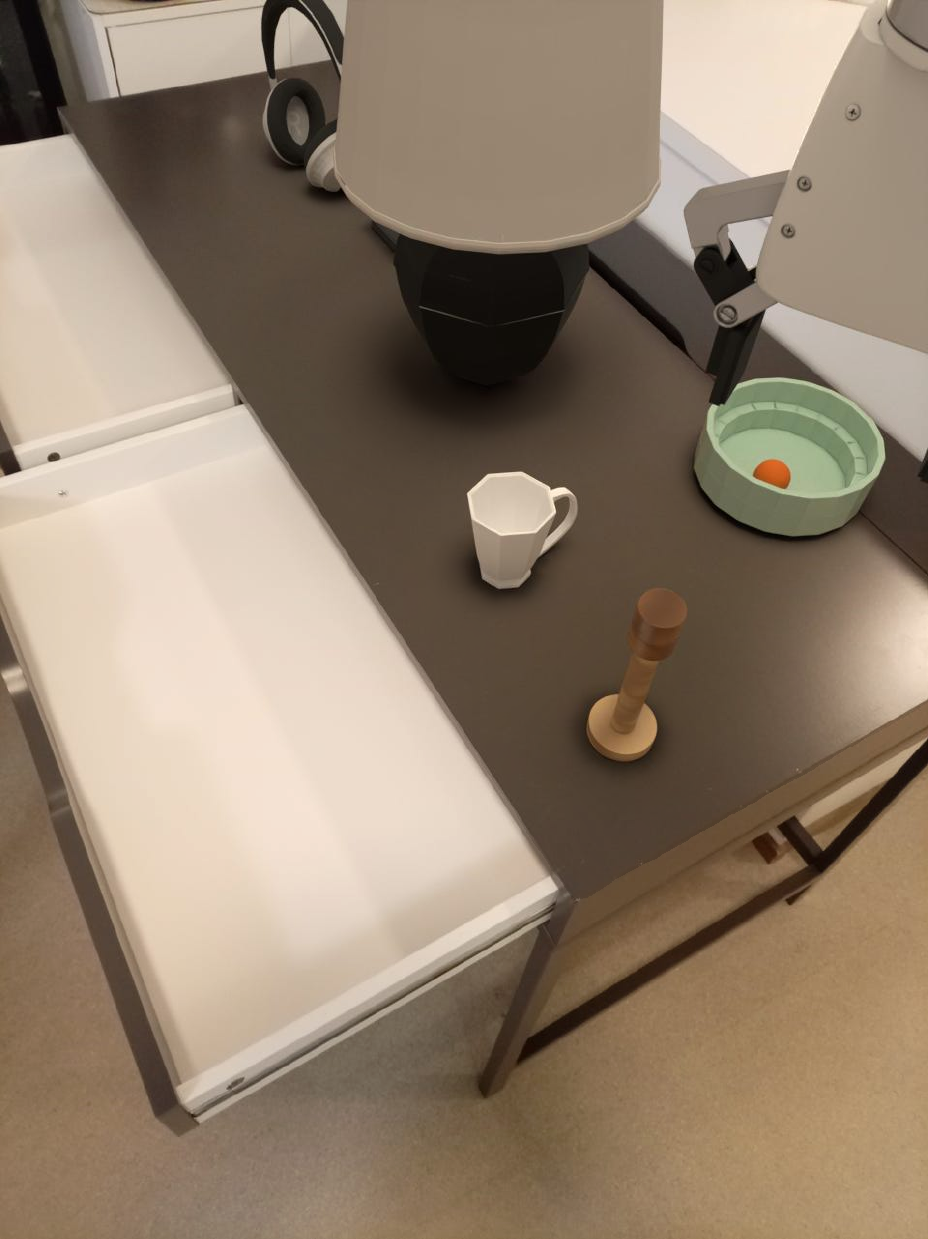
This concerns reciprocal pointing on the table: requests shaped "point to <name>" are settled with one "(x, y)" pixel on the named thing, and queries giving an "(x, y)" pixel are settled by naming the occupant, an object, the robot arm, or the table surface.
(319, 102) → the headphones
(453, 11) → the table lamp
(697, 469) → the bowl
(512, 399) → the table surface
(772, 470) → the ball
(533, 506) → the cup
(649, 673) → the brown long flanged bar
